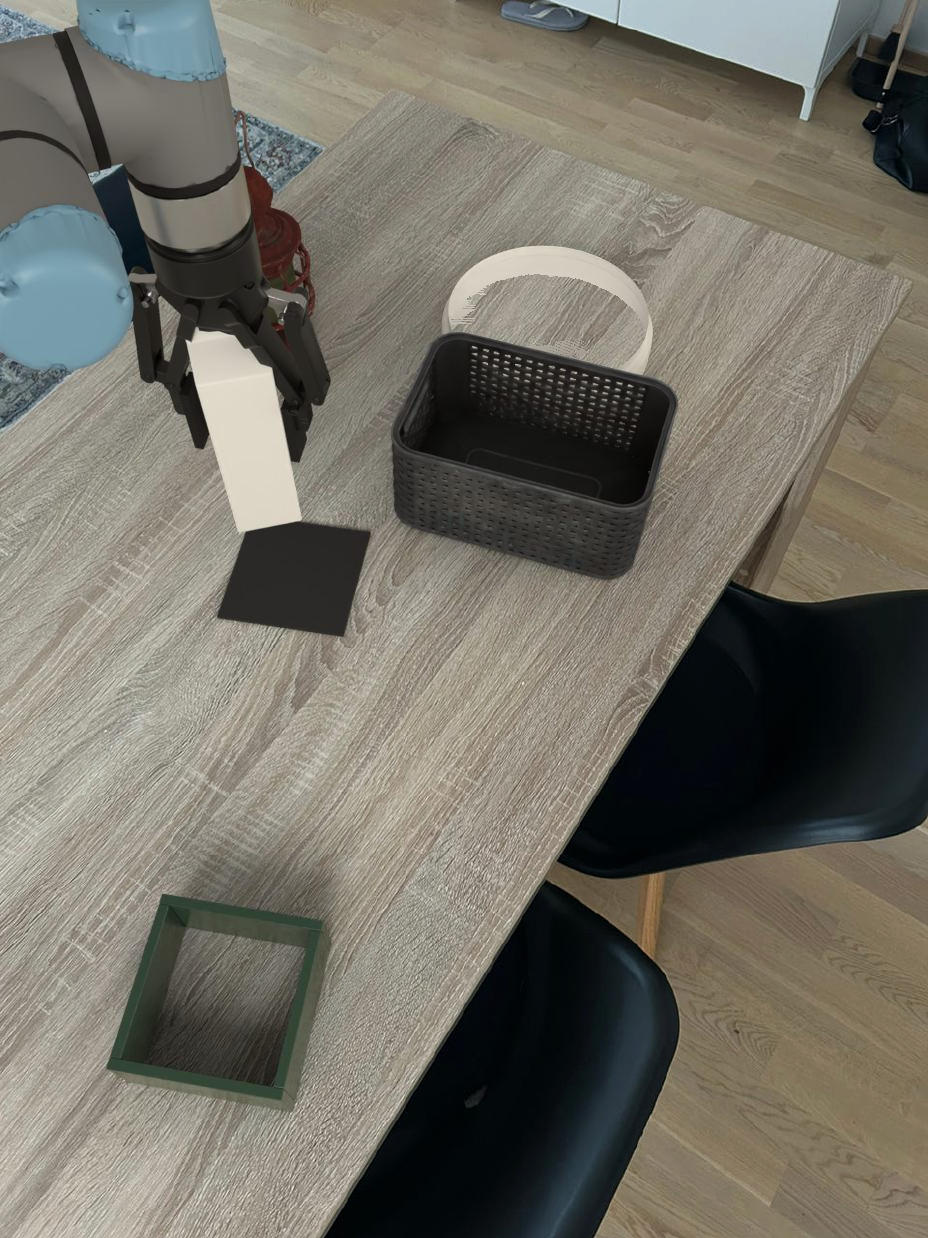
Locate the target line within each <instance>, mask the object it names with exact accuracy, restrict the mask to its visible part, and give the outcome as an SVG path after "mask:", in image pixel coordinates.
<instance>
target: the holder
mask: <svg viewBox="0 0 928 1238" xmlns="http://www.w3.org/2000/svg"><path fill="white" fill-rule="evenodd" d="M158 902H159V903H158V905H157V909H156V912H155V916H154V918H153V922H152V926H151V927H150V931H149V934H148V937H147V940H146V943H145V947H144V949H143V953H142V955H141V958H140V962H139V965H138V967H137V971H136V974H135V978H134V981H133V983H132V987H131V990H130V993H129V996H128V1000H127V1002H126V1005H125V1009H124V1012H123V1015H122V1017H121V1021H120V1024H119V1027H118V1030H117V1034H116V1035H115V1036H116V1037H115V1040H114V1043H113V1046H112V1048H111V1052H110V1055H109V1059H108V1061H107V1063H106V1066H105V1069H106V1070H107V1071H109V1072H110V1073H111V1074H114V1075H115V1076H118V1077H119V1078H121V1079H122V1080H124V1081H126V1082H128V1083H130V1084H134V1085H141V1086H146V1087H150V1088H151V1087H152V1088H156V1089H157V1088H158V1089H163V1090H169V1091H174V1092H179V1093H184V1094H189V1095H195V1096H200V1097H207V1098H211V1099H216V1100H221V1101H228V1102H233V1103H239V1104H245V1105H250V1106H254V1107H260V1108H266V1109H270V1110H271V1109H273V1110H276V1111H282V1112H287V1113H293V1112H294V1107H295V1104H296V1099H297V1095H298V1091H299V1086H300V1082H301V1077H302V1072H303V1069H304V1064H305V1059H306V1054H307V1051H308V1046H309V1044H310V1043H309V1042H310V1039H311V1033H312V1028H313V1025H314V1020H315V1016H316V1012H317V1007H318V1003H319V999H320V996H321V995H320V994H321V990H322V985H323V981H324V977H325V972H326V967H327V963H328V959H329V955H330V950H331V946H332V940H331V937H330V934H329V932H328V929H327V925H326V923H325V921H324V920H321V919H315V918H309V917H304V916H297V915H292V914H285V913H281V912H274V911H268V910H262V909H256V908H251V907H245V906H239V905H234V904H227V903H220V902H216V901H210V900H203V899H197V898H192V897H187V896H186V897H185V896H180V895H174V894H168V893H162V894H161V896H160V899H159V901H158ZM187 929H193V930H197V931H199V930H200V931H204V932H210V933H216V934H221V935H226V936H227V935H228V936H233V937H240V938H246V939H249V940H250V939H252V940H255V941H256V940H257V941H263V942H268V943H273V944H274V943H275V944H280V945H286V946H291V947H297V948H303V949H305V953H304V956H303V961H302V966H301V969H300V974H299V978H298V982H297V986H296V990H295V995H294V999H293V1004H292V1007H291V1010H290V1011H291V1012H290V1015H289V1020H288V1024H287V1028H286V1032H285V1036H284V1040H283V1045H282V1049H281V1051H280V1052H281V1053H280V1056H279V1057H280V1058H279V1061H278V1066H277V1070H276V1073H275V1078H274V1082H273V1086H269V1085H264V1084H259V1083H253V1082H247V1081H242V1080H236V1079H232V1078H225V1077H221V1076H215V1075H209V1074H205V1073H199V1072H192V1071H187V1070H181V1069H176V1068H172V1067H165V1066H161V1065H160V1066H159V1065H154V1064H150V1063H146V1061H147V1058H148V1055H149V1051H150V1049H151V1044H152V1041H153V1038H154V1034H155V1031H156V1027H157V1025H158V1021H159V1017H160V1015H161V1012H162V1008H163V1005H164V1001H165V1000H166V999H165V998H166V995H167V992H168V988H169V985H170V982H171V979H172V975H173V972H174V969H175V965H176V962H177V960H178V955H179V953H180V949H181V946H182V942H183V939H184V936H185V932H186V930H187Z"/></svg>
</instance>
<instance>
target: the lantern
mask: <svg viewBox="0 0 928 1238" xmlns="http://www.w3.org/2000/svg"><path fill="white" fill-rule="evenodd" d="M240 117H241V120H242V121H241V123H242V134H243V147H244V151H245V154H246V157H247V159H248V161H249V165H243V168H244V173H245V178H246V183H247V189H248V194H249V199H250V204H251V214H252V216H253V219H254V224H255V229H256V235H257V240H258V245H259V251H260V257H261V266H262V271H263V274H264V275H265V277H266V278H267V279H268V281H269V282H270V284H271V286H272V288H274V289H278V290H282V291H285V292H289V293H293V290H294V288H295V287H298V286H299V287H300V285H301V284H302V287H303V288H305V289H306V290H307V291H308V292H309V302H308V315H309V317H310V318H311V317H312V316H313V315H314V314H315V310H316V308H315V307H316V305H315V303H316V302H315V301H316V292H315V288H314V285H313V283H312V280H311V265H312V264H311V257H310V254H309V251H308V250H307V248H306V247H305V245H304V243H303V242H302V239H303V237H302V229H301V226H300V223H299V222H298V221H297V220H296V219H295V217H294V216H293V215H291V214H289V213H288V212H286V211H284V210H281V209H278V208H275V207H272V201H273V199H274V190H273V187H272V186H271V185H270V184H269V182H268V179H267V178H266V177H265V176H263V174H262V173H261V172H260V171H259V170H258V169H257V168H256V166H255V162H254V161H253V159H252V156H251V154H250V150H249V145H248V134H247V132H248V131H247V119H246V115H245V112H244V111H243V110H237V113H236V116H235V117H234V121H235V126H236V127H237V125H238V123H239V120H240ZM295 255H297V256H299V260H300V267H301V272H300V271H299V270H298V269H295V267H294V257H295ZM297 277H298V278H297ZM265 309H266V311H267V312H268V314H269V316H270V323H271V325H272V327H273V328H274V330H275V331H276V333H277V334H278V336H279V337H280V338H281V340H282V341H283V343H284V344H285V346H286V347H287V349H288V350H289V352H290V353H291V350H290V348H289V345H288V342H287V340H286V336H285V332H284V325H280V324H279V323H278V317H277V315H276V312H275V310H274V309H273V308H271V307H269V306H267V307H266V308H265ZM313 329H314V327H313ZM314 330H315V329H314ZM291 355H292V353H291Z"/></svg>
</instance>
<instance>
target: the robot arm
mask: <svg viewBox="0 0 928 1238" xmlns="http://www.w3.org/2000/svg"><path fill="white" fill-rule="evenodd" d="M75 2H76V3H75V4H76V10H77V11H76V12H77V18H76V23H77V25H73V26H68V27H64V28H63V31H56V32H53V33H46V34H41V35H40V34H39V35H35V36H30V37H26V38H25V37H24V38H19V39H15V40H10V41H6V42H5V41H4V42H0V352H1V353H2V354H3V355H5V356H6V357H7V358H8V359H10V360H12V361H13V362H15V363H17V364H19V365H22V366H24V367H27V368H29V369H31V370H37V371H43V372H46V371H48V370H64V371H67V372H71V371H72V372H73V371H77V370H81V369H84V368H88V367H90V366H93V365H94V364H97V363H98V362H101V361H102V360H103V359H104V358H106V357H108V356H109V355H110V354H111V353H112V352H113V351H114V350H115V349H117V347H118V346H119V345H120V344H121V343H122V341H123V340H124V339H125V337H126V335H127V333H128V331H129V330H130V327H131V324H132V327H133V333H134V341H135V347H136V349H135V350H136V355H137V363H138V370H139V377H140V380H142V382H144V383H146V384H154V383H155V382H157V383H160V384H162V385H163V387H164V389H166V390H167V391H168V393H169V396H170V400H171V403H172V406H173V408H174V411H175V412H176V413H177V415H181V416H185V420H186V423H187V426H188V429H189V433H190V436H191V439H192V441H193V446H194V448H195V449H197V450H204V449H205V447H206V445H207V442H208V439H209V437H210V433H209V430H208V426H207V423H206V419H205V416H204V412H203V409H202V406H201V402H200V399H199V395H198V392H197V388H196V385H195V380H194V375H193V371H192V370H191V371H190V370H189V371H188V372H187V370H188V368H189V365H190V364H191V362H190V357H189V352H188V348H187V343H186V340H188V341H190V342H191V343H192V340H193V337H194V333H195V329H196V327H198V329H199V331H204V332H216V331H219V332H222V333H225V334H228V335H234V336H235V337H236V338H237V340H238V341H239V343H240V344H241V345H242V347H243V348H244V349H250V351H251V352H252V353H253V355H254V356H255V358H256V359H257V360H258V362H259V363H260V364H262V365H265V366H268V367H271V368H272V370H273V375H274V380H275V385H276V389H277V390H278V391H279V393H280V394H281V395H282V397H283V400H282V403H281V406H280V411H281V416H282V421H283V426H284V431H285V436H286V441H287V446H288V451H289V456H290V461H291V463H298V464H300V463H301V459H302V456H303V453H304V451H305V447H306V445H307V442H308V436H307V433H308V432H309V430H310V427H311V424H312V421H313V419H314V412H313V406H317V407H322V406H324V404H325V401H326V398H327V395H328V392H329V388H330V386H331V382H332V379H331V376H330V373H329V370H328V368H327V364H326V361H325V358H324V355H323V353H322V350H321V347H320V343H319V340H318V338H317V335H316V331H315V329H313V328H314V325H313V323H312V321H311V317H309V313H308V304H309V303H308V302H309V290H308V289H307V290H306V289H305V288H304V287H303V286H300V285H299V286H297V287H295V288H294V290H293V293H289V292H285V291H282V290H278V289H274V288H272V286H271V284H270V282H269V281H268V279H267V278H266V277H265V275H264V274H263V271H262V266H261V257H260V251H259V245H258V240H257V235H256V229H255V224H254V219H253V216H252V214H251V204H250V199H249V194H248V189H247V183H246V178H245V173H244V168H243V166H244V163H243V158H242V154H241V149H240V142H239V139H238V132H237V126H235V115H234V110H233V105H232V98H231V93H230V86H229V81H228V80H229V79H228V76H227V70H226V68H227V67H228V65H227V58H226V57H224V54H223V50H222V46H221V42H220V38H219V34H218V30H217V27H216V21H215V18H214V14H213V10H212V5H211V1H210V0H76V1H75ZM119 165H123V169H124V172H125V175H126V178H127V182H128V185H129V189H130V193H131V196H132V197H131V198H132V200H133V203H134V207H135V210H136V214H137V218H138V221H139V224H140V227H141V229H142V231H143V235H144V237H143V238H144V241H145V243H146V247H147V250H148V253H149V257H150V261H151V264H152V268H153V271H154V273H148V272H147V270H146V269H145V268H144V267H141V266H136V265H135V266H133V267H132V268H131V270H130V273H129V274H128V273H127V270H126V267H125V263H124V261H123V248H122V245H121V243H120V240H119V238H118V236H117V234H116V232H115V230H114V229H113V228H112V227H111V226H110V224H109V222H108V220H107V217H106V215H105V212H104V211H103V207H102V205H101V203H100V200H99V199H98V196H97V194H96V192H95V189H94V186H93V183H92V181H91V178H90V174H93V173H97V172H101V171H105V170H109V169H112V167H115V166H119ZM159 296H160V297H161V298H162V299H164V301H166V302H167V304H169V306H171V307H172V308H173V309H174V310H175V311H176V312H177V313H178V314H179V315H180V318H179V321H178V325H177V329H176V332H175V340H174V343H173V348H172V350H171V354H170V358H169V360H166V359H165V352H164V351H165V350H164V343H163V333H162V332H163V331H162V322H161V312H160V303H159ZM267 306H269V307H271V308H273V309H274V310H275V312H276V315H277V317H278V323H279V324H280V325H284V332H285V336H286V340H287V342H288V345H289V348H290V350H291V353H292V355H291V353H290V352H289V350H288V349H287V347H286V346H285V344H284V343H283V341H282V340H281V338H280V337H279V336H278V334H277V333H276V331H275V330H274V328H273V327H272V325H271V323H270V316H269V314H268V312H267V311H266V309H265V308H266V307H267Z"/></svg>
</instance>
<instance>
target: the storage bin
mask: <svg viewBox="0 0 928 1238" xmlns="http://www.w3.org/2000/svg"><path fill="white" fill-rule="evenodd" d="M472 346H474V347H476V348H472ZM483 349H486V350H489V351H488V352H487V351H484V350H483ZM494 352H497V353H499V354H495V353H494ZM472 353H476V354H477V355H474V354H472ZM483 355H484V356H487V357H488V358H486V357H483ZM505 355H510V357H508V356H505ZM516 357H518V358H520V359H521V360H520V359H516ZM494 359H499V361H497V360H494ZM472 360H476V361H472ZM505 361H507V362H509V363H505ZM528 361H532V363H530V362H528ZM483 362H486V363H488V365H487V364H484V363H483ZM538 363H541V364H543V365H538ZM515 364H519V365H521V367H519V366H517V365H515ZM493 365H496V366H498V367H494V366H493ZM472 366H476V368H474V367H472ZM549 366H554V367H555V368H551V367H549ZM526 367H529V368H531V369H527V368H526ZM482 368H483V369H485V370H482ZM504 368H508V369H509V370H506V369H504ZM561 368H562V369H564V370H566V371H563V370H560V369H561ZM515 370H516V371H518V372H520V373H517V372H515ZM537 370H542V371H543V372H539V371H537ZM471 372H473V373H475V374H472V373H471ZM494 372H498V374H496V373H494ZM572 372H577V374H575V373H572ZM548 373H552V374H553V375H552V374H548ZM503 374H506V375H508V376H504V375H503ZM526 374H531V376H529V375H526ZM583 374H586V375H588V376H583ZM482 375H486V376H487V377H484V376H482ZM537 376H538V377H541V378H536V377H537ZM560 376H565V377H564V378H563V377H560ZM492 377H493V378H495V379H492ZM514 377H516V378H519V380H518V379H516V378H514ZM594 377H599V378H600V379H596V378H594ZM570 378H573V379H576V380H571V379H570ZM472 379H475V380H476V381H475V380H472ZM496 379H497V380H496ZM548 379H549V380H553V381H552V382H551V381H548ZM606 379H607V380H610V381H605V380H606ZM525 380H528V381H530V382H526V381H525ZM481 381H483V382H485V383H482V382H481ZM503 381H508V383H506V382H503ZM582 381H587V383H584V382H582ZM558 382H562V383H564V384H560V383H558ZM617 382H619V383H622V385H621V384H618V383H617ZM513 383H515V384H517V385H513ZM536 383H539V384H541V385H538V384H536ZM593 383H595V384H598V385H593ZM492 384H495V385H497V386H494V385H492ZM471 385H474V386H471ZM570 385H575V387H572V386H570ZM628 385H631V386H633V387H629V386H628ZM546 386H551V387H552V388H550V387H546ZM604 386H608V387H610V388H606V387H604ZM502 387H505V388H507V389H505V388H502ZM525 387H529V389H528V388H525ZM580 387H583V388H585V389H581V388H580ZM483 388H485V389H486V390H485V389H483ZM616 388H617V389H619V390H621V391H619V390H615V389H616ZM535 389H537V390H539V391H535ZM558 389H563V391H561V390H558ZM491 390H493V391H495V392H493V391H491ZM513 390H517V391H518V392H516V391H513ZM592 390H596V391H597V392H594V391H592ZM472 391H474V392H475V393H474V392H472ZM568 391H571V392H573V393H569V392H568ZM546 392H550V393H551V394H548V393H546ZM603 392H605V393H608V394H603ZM628 392H629V393H628ZM481 393H482V394H485V395H481ZM502 393H503V394H502ZM523 393H527V394H523ZM504 394H507V395H504ZM580 394H584V395H585V396H582V395H580ZM535 395H536V396H539V398H538V397H535ZM557 395H560V396H562V397H559V396H557ZM614 395H618V396H620V397H616V396H614ZM512 396H514V397H512ZM591 396H593V397H595V398H591ZM493 397H496V398H493ZM545 398H547V399H550V400H545ZM568 398H573V400H571V399H568ZM501 399H503V400H501ZM523 399H527V400H528V401H526V400H523ZM602 399H606V400H607V401H604V400H602ZM504 400H505V401H504ZM578 400H581V401H584V402H579V401H578ZM533 401H535V402H537V403H533ZM556 401H561V403H558V402H556ZM613 401H615V402H616V403H613ZM512 402H515V403H517V404H515V403H512ZM566 403H568V404H570V405H566ZM590 403H595V405H593V404H590ZM544 404H546V405H549V406H546V405H544ZM522 405H525V406H522ZM600 405H603V406H606V407H601V406H600ZM511 407H512V408H514V409H511ZM555 407H558V408H560V409H558V408H555ZM579 407H583V408H579ZM534 408H538V410H537V409H534ZM588 409H592V410H588ZM678 409H679V398H678V395H677V394H676V392H675V390H674V389H673V388H672V387H671V386H670V385H669V384H667V383H666V382H664V381H663V380H660V379H657V378H654V377H650V376H646V375H644V374H643V375H639V374H634V373H630V372H626V371H622V370H618V369H614V368H610V367H606V366H602V365H598V364H594V363H590V362H585V361H581V360H577V359H573V358H569V357H565V356H561V355H557V354H553V353H549V352H544V351H540V350H536V349H532V348H528V347H524V346H520V345H516V344H511V343H508V342H504V341H499V340H495V339H491V338H487V337H483V336H479V335H475V334H471V333H466V332H451V333H447V334H444V335H442V334H441V335H440V336H438V337H436V338H435V339H434V340H433V341H432V342H431V343H430V344H429V347H428V349H427V351H426V353H425V356H424V358H423V360H422V363H421V365H420V367H419V369H418V371H417V373H416V376H415V378H414V379H413V382H412V383H411V385H410V388H409V389H408V392H407V394H406V396H405V398H404V400H403V402H402V404H401V406H400V408H399V410H398V412H397V414H396V415H395V418H394V420H393V422H392V425H391V427H390V439H391V452H392V457H391V463H392V477H393V481H392V486H393V499H394V500H393V508H394V509H393V510H394V512H395V514H396V517H397V518H398V520H399V521H401V522H402V524H403V525H406V526H407V527H409V528H411V529H415V530H418V531H421V532H425V533H429V534H433V535H436V536H440V537H444V538H448V539H451V540H455V541H458V542H462V543H465V544H469V545H472V546H476V547H480V548H483V549H487V550H491V551H494V552H497V553H501V554H505V555H509V556H513V557H517V558H520V559H524V560H527V561H531V562H535V563H539V564H542V565H546V566H549V567H553V568H556V569H560V570H563V571H568V572H571V573H575V574H579V575H583V576H586V577H589V578H590V577H591V578H594V579H597V580H603V581H605V580H606V581H607V580H616V579H619V578H621V577H623V576H625V575H626V574H628V572H630V570H631V569H632V567H633V566H634V564H635V560H636V557H637V554H638V551H639V546H640V544H641V543H640V542H641V540H642V536H643V532H644V528H645V526H646V522H647V519H648V515H649V512H650V507H651V505H652V504H651V503H652V502H653V499H654V494H655V491H656V487H657V484H658V479H659V475H660V471H661V469H662V465H663V462H664V458H665V454H666V452H667V449H668V445H669V441H670V439H671V434H672V431H673V427H674V424H675V419H676V415H677V412H678ZM543 410H546V411H548V412H545V411H543ZM566 410H571V412H569V411H566ZM502 411H503V412H502ZM524 411H526V412H524ZM576 412H579V413H581V414H577V413H576ZM555 413H558V414H559V415H557V414H555ZM513 414H516V415H513ZM565 415H566V416H568V417H565ZM521 416H522V417H521ZM544 416H545V417H544ZM546 417H547V418H546ZM554 419H556V420H554Z"/></svg>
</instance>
